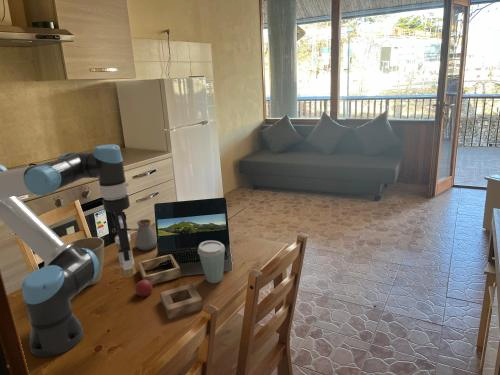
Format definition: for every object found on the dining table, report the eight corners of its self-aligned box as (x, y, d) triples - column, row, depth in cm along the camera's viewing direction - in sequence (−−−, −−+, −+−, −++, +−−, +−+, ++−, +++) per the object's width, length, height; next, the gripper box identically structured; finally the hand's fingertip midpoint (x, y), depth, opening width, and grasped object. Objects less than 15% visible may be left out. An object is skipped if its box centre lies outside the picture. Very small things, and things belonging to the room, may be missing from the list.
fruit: (139, 303, 143) (142, 291, 138) (132, 291, 145) (134, 279, 140) (154, 296, 146) (157, 284, 141) (147, 284, 149) (150, 272, 144)
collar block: (169, 319, 129) (167, 310, 128) (161, 301, 140) (159, 292, 139) (203, 308, 134) (202, 299, 133) (192, 291, 144) (192, 283, 143)
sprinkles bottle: (137, 274, 124) (131, 236, 120) (123, 279, 121) (116, 240, 117) (133, 269, 127) (127, 231, 123) (119, 273, 125) (112, 235, 121)
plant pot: (62, 289, 151) (54, 252, 146) (86, 270, 165) (79, 236, 160) (96, 292, 148) (88, 255, 143) (117, 272, 161) (111, 238, 157)
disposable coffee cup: (229, 272, 156) (226, 238, 152) (225, 287, 146) (222, 251, 141) (204, 272, 157) (200, 239, 153) (198, 287, 147) (194, 251, 143)
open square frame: (145, 286, 150) (144, 277, 149) (139, 270, 162) (138, 262, 161) (181, 276, 155) (179, 267, 154) (172, 262, 167) (171, 254, 166)
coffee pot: (151, 239, 192) (147, 211, 187) (164, 245, 184) (160, 216, 180) (111, 255, 177) (105, 225, 173) (124, 263, 169) (118, 231, 165)
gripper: (132, 201, 110) (144, 274, 117) (124, 186, 126) (134, 251, 133) (104, 207, 108) (118, 280, 114) (99, 191, 123) (112, 257, 130)
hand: (127, 265), depth 123 cm, fingers closed on sprinkles bottle, 4 cm apart
